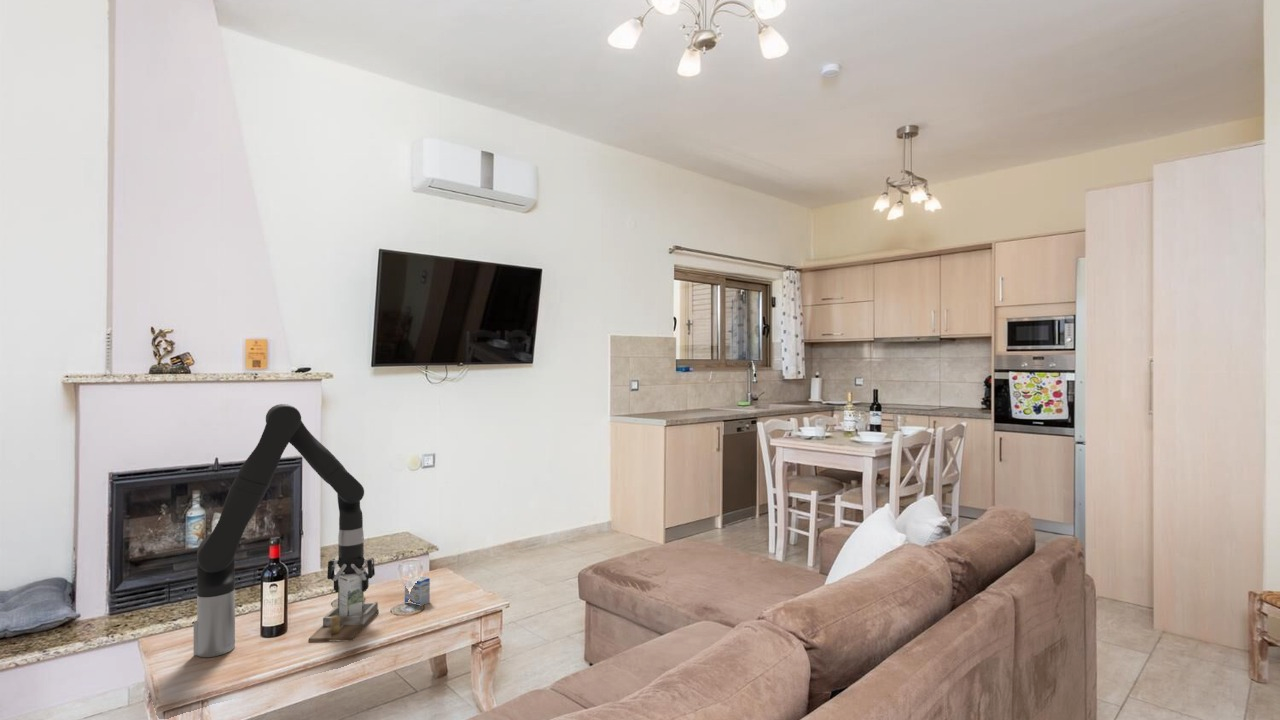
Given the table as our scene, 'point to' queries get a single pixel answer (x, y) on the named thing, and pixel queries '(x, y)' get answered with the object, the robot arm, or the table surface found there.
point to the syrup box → (350, 595)
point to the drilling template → (344, 624)
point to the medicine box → (419, 592)
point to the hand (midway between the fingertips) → (351, 591)
